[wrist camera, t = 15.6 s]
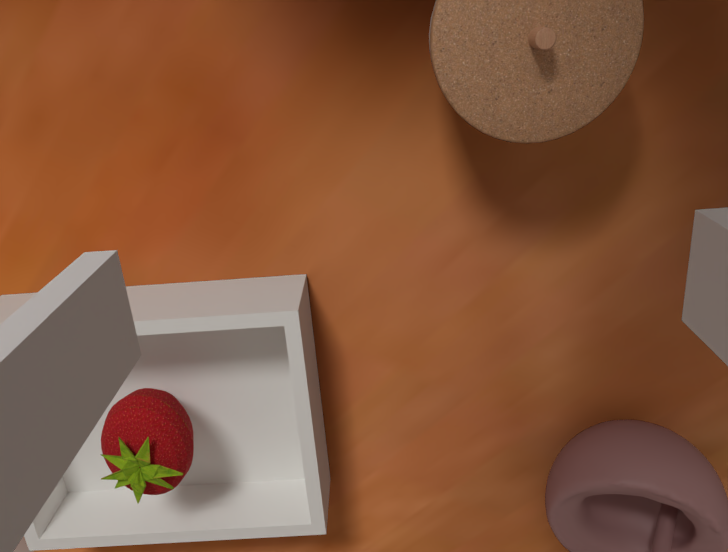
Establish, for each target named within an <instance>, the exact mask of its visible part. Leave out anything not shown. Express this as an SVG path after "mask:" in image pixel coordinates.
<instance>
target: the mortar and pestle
mask: <svg viewBox="0 0 728 552" xmlns="http://www.w3.org/2000/svg"><path fill="white" fill-rule="evenodd" d="M545 505H546V514H547V518H548V522H549V524H550V526H551V529H552V531H553V532H554V534H555V536H556V537H557V538H558V540H559V541H560V542H561V544H562V545H563V546H564V547H565V548H567V549H568V550H569V551H570V552H727V549H728V500H727V496H726V493H725V490H724V487H723V485H722V482H721V480H720V478H719V476H718V475H717V473H716V471H715V470H714V468H713V467H712V465H711V464H710V462H709V461H708V460H707V459H706V457H705V456H704V455H703V454H702V453H701V452H700V451H699V450H698V449H697V448H696V447H695V446H693V445H692V444H691V443H690V442H689V441H687V440H686V439H684V438H683V437H681V436H680V435H678V434H676V433H675V432H673V431H671V430H669V429H667V428H664V427H662V426H659V425H656V424H653V423H649V422H645V421H639V420H612V421H607V422H603V423H599V424H596V425H594V426H592V427H589V428H587V429H585V430H584V431H582V432H580V433H579V434H577V435H576V436H575V437H574V438H572V439H571V440H570V441H569V442H568V443H567V444H566V445H565V446H564V447H563V448H562V450H561V451H560V453H559V454H558V456H557V457H556V459H555V461H554V463H553V465H552V467H551V469H550V473H549V476H548V480H547V485H546V494H545Z"/></svg>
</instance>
